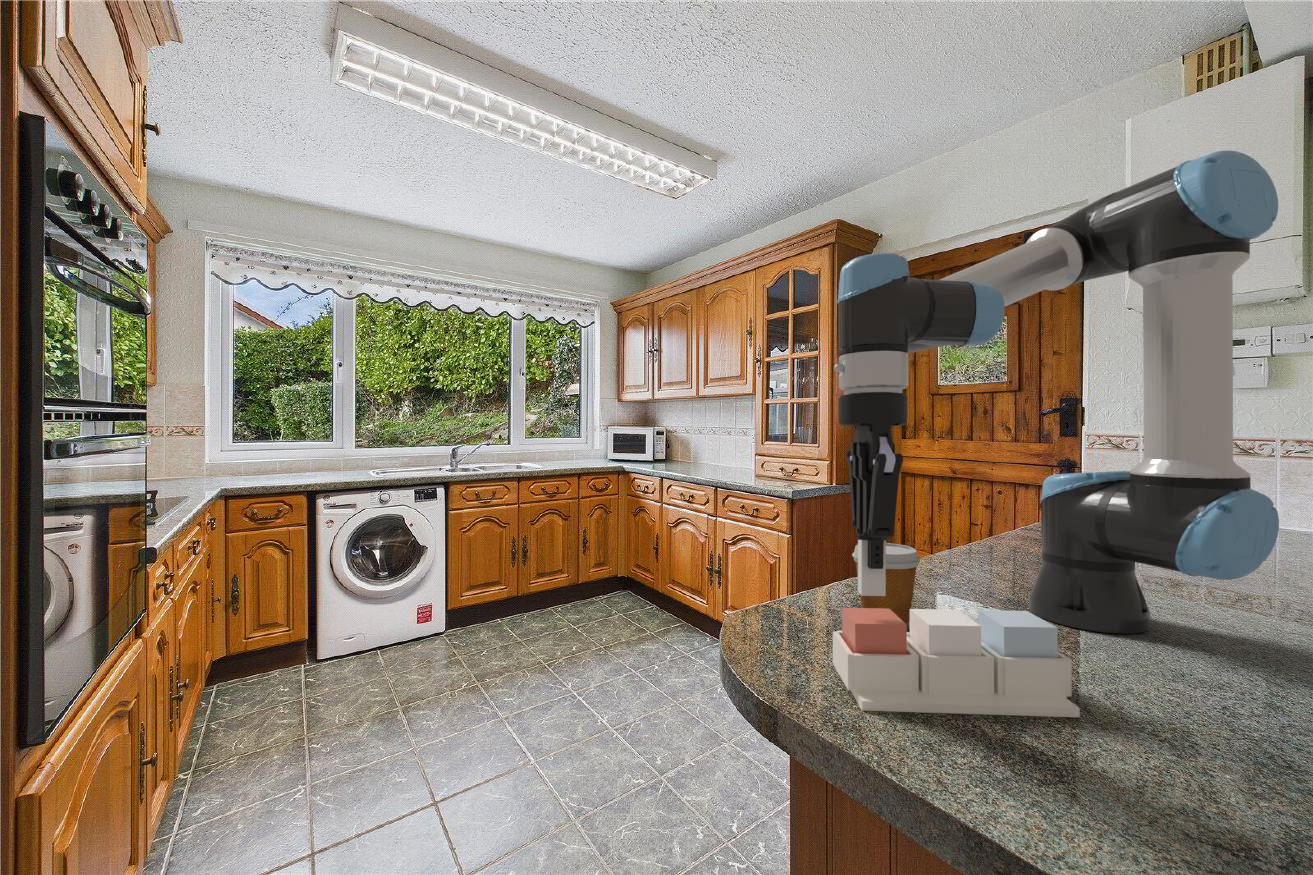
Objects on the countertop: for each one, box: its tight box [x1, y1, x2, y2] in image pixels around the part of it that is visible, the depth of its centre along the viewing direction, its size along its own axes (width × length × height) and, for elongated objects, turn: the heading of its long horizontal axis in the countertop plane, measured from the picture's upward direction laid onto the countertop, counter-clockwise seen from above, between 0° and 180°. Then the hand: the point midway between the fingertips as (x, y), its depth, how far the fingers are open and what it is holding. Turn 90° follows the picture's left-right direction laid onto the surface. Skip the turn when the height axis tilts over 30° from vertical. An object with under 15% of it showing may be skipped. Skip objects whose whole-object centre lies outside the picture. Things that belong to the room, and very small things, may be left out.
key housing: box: [832, 630, 1081, 718], centre depth 64 cm, size 24×12×5 cm, turn 86°
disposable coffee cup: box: [851, 542, 921, 632], centre depth 84 cm, size 10×10×12 cm
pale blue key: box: [977, 609, 1059, 658], centre depth 63 cm, size 6×6×4 cm
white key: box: [909, 608, 981, 656], centre depth 64 cm, size 6×6×4 cm
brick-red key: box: [841, 607, 908, 655], centre depth 64 cm, size 6×6×4 cm
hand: (871, 593), depth 64 cm, fingers closed
